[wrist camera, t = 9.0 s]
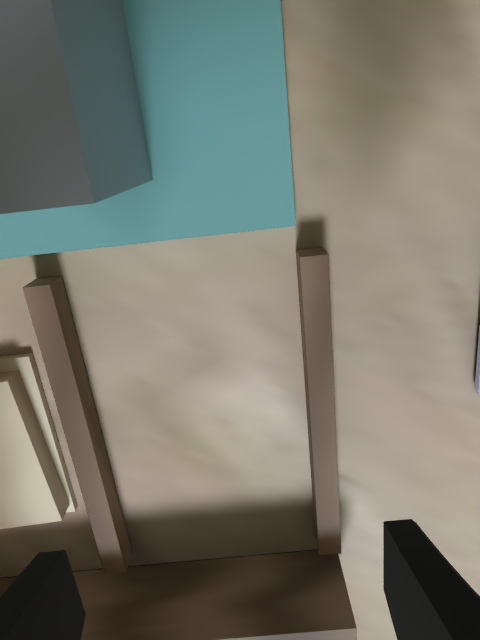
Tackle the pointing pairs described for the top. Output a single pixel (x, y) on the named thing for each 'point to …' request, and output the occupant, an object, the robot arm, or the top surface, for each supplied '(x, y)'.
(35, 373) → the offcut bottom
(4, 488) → the offcut top
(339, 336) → the top surface
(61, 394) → the rack
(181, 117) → the mat
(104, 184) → the block
